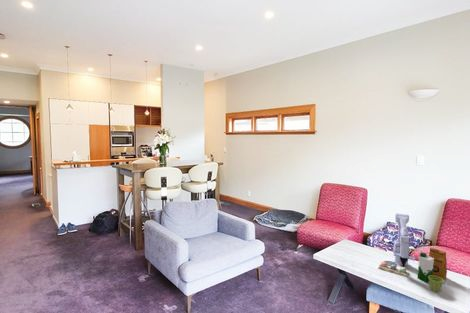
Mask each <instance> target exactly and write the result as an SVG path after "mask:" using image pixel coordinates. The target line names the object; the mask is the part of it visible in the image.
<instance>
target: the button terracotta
mask: <svg viewBox="0 0 470 313" xmlns="http://www.w3.org/2000/svg"><path fill="white" fill-rule="evenodd" d="M380 264H381V267H383V268H386V267H387V266H388V263H387V262H385V261H381V263H380Z"/></svg>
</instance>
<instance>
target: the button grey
mask: <svg viewBox="0 0 470 313" xmlns="http://www.w3.org/2000/svg"><path fill="white" fill-rule="evenodd" d="M390 266H391V269H390V270H394V271H396V268H397V264H396V265H395V264H390Z"/></svg>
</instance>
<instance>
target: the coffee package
mask: <svg viewBox="0 0 470 313" xmlns="http://www.w3.org/2000/svg"><path fill="white" fill-rule="evenodd" d="M428 256H430V257H432V258H434V263H433V276H437V277H440V278H442V279H443V280H444V281H445V280H446V279H447V272H448V270H447V268H448V267H447V265H448V264H447V262H448V261H447V252H446V251H443V250H440V249H437V248H434V247H429V253H428Z"/></svg>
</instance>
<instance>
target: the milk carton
mask: <svg viewBox="0 0 470 313" xmlns="http://www.w3.org/2000/svg"><path fill="white" fill-rule="evenodd" d="M433 263H434V258H432V257H430V256H429V255H428V254H427V253H425V252H420V254H419V255H418V267H417V268H418V269H417V279H419V280H421V281H422V282H425V283H430V282H429V278H428V276H430V275H433Z"/></svg>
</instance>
